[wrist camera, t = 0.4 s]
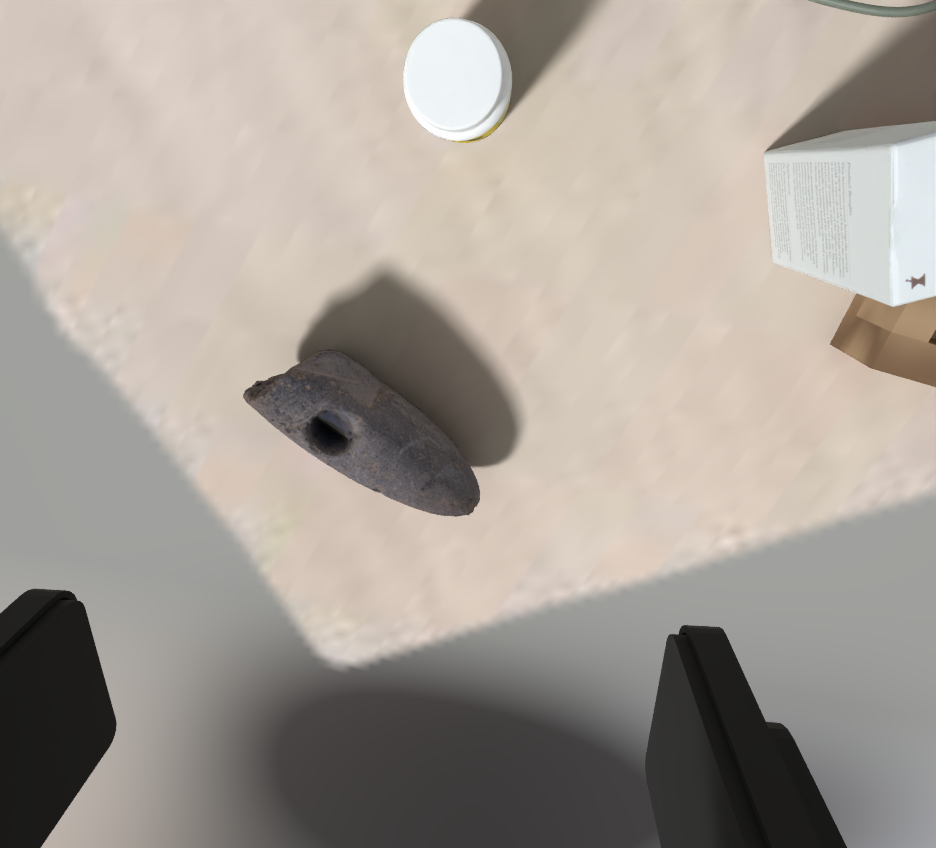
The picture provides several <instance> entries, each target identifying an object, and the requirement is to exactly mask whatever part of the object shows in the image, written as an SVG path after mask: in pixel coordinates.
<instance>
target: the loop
mask: <svg viewBox="0 0 936 848" xmlns="http://www.w3.org/2000/svg"><path fill="white" fill-rule="evenodd" d="M809 1H812V2H815V3H819V4H822V5H826V6H830V7H834V8H838V9H842V10H846V11H851V12H856V13H861V14H866V15H872V16H881V17H908V16H916V15H920V14H925V13H928V12H931V11H934V10H936V0H934V1H931V2H928V3H925V4H921V5H916V6H908V7H885V6H876V5H869V4H864V3H859V2H854V1H849V0H809Z"/></svg>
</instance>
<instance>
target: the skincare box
mask: <svg viewBox="0 0 936 848" xmlns="http://www.w3.org/2000/svg"><path fill="white" fill-rule="evenodd" d="M764 165H765V178H766V190H767V202H768V213H769V225H770V236H771V248H772V260H773V263H776V264H778V265H781V266H784V267H786V268H789V269H792V270H795V271H797V272H800V273H803V274H806V275H808V276H811V277H813V278H816V279H819V280H822V281H824V282H827V283H830V284H833V285H836V286H838V287H841V288H844V289H846V290H849V291H852V292H855V293H857V294H860V295H863V296H865V297H868V298H871V299H874V300H876V301H879V302H882V303H884V304H887V305H889V306H892V307H895V306H899V305H903V304H907V303H911V302H915V301H919V300H922V299H926V298H930V297H934V296H936V121H929V122H921V123H911V124H902V125H892V126H883V127H874V128H865V129H855V130H846V131H842V132H838V133H834V134H830V135H827V136H823V137H819V138H815V139H811V140H807V141H803V142H799V143H795V144H791V145H788V146H784V147H780V148H776V149H773V150H769V151H767V152H765V153H764Z"/></svg>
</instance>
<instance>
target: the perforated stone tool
mask: <svg viewBox="0 0 936 848" xmlns="http://www.w3.org/2000/svg"><path fill="white" fill-rule="evenodd" d="M243 398H244V399H245V400H246V402H247V403H248V404H249V405H250V406H252V408H254V409H255V410H257V411H258V412H259V413H260V414H261V415H262V416H263V417H264V418H265V419H266V420H268V422H269V423H271V424H272V425H273V426H274V427H275V428H277V429H278V430H280V431H281V432H282V433H283V434H285V435H286V436H287V437H288V438H290V439H291V440H292V441H294V442H295V443H296V444H298V445H299V446H300V447H302V448H303V449H305V450H306V451H307V452H309V453H311V454H312V455H314V456H315V457H317V458H318V459H319V460H321V461H322V462H324V463H325V464H327V465H329V466H331V467H332V468H334V469H335V470H337V471H338V472H340V473H342V474H344V475H345V476H347V477H348V478H350V479H352V480H354V481H356V482H357V483H359V484H361V485H363V486H365V487H368V488H370V489H372V490H373V491H375V492H379V493H382V494H383V495H385V496H387V497H389V498H391V499H393V500H396V501H398V502H400V503H403V504H405V505H407V506H410V507H413V508H416V509H419V510H422V511H426V512H429V513H432V514H437V515H443V516H462V515H469V514H470V513H472V512H473V510H474V508H475V507H476V506H477V505H478V503H479V500H480V490H479V485H478V482H477V479H476V477H475V475H474V473H473V471H472V469H471V467H470V465H469V464H468V462H467V461H466V459H465V458H464V456H463V455H462V453H461V452H460V450H459V449H458V447H457V446H456V445H455V444H454V443H453V441H452V440H451V439H450V438H449V437H448V436H447V435H446V434H445V433H444V432H443V431H442V430H441V429H440V428H439V427H438V426H437V425H436V424H435V423H433V422H432V421H431V420H430V419H429V418H428V417H427V416H426V415H424V414H423V413H422V412H421V411H420V410H418V409H417V408H416V407H415V406H414V405H412V404H411V403H410V402H408V401H407V400H406V399H404V398H403V397H402V396H401V395H400V394H398V393H397V392H396V391H394V390H393V389H392V388H391V387H389V386H388V385H386V384H384V383H383V382H381V381H380V380H378V379H377V378H375V377H374V375H373V374H372V373H371V372H370V371H369V370H367V369H366V368H365V367H363V366H362V365H360V364H359V363H357V362H356V361H354V360H353V359H351V358H350V357H348V356H347V355H345V354H343V353H341V352H338V351H333V350H328V351H321V352H319V353H315V354H312V355H310V356H309V357H307V358H306V359H305V360H304V361H302V362H301V363H300V364H298V365H296V366H294V367H292V368H291V369H289V370H288V371H287V372H286V373H284V374H280V375H277V376H273V377H271V378H269V379H268V380H266V381H256V383H255V384H254V385H253V386H252V387H250V388H248V389H246V390H245V393H244V395H243Z"/></svg>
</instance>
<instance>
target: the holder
mask: <svg viewBox="0 0 936 848" xmlns="http://www.w3.org/2000/svg"><path fill="white" fill-rule="evenodd" d="M830 345H832V346H834V347H836V348H837V349H839V350H841V351H842V352H844V353H846V354H847V355H849V356H851V357H853V358H854V359H856V360H858V361H859V362H861V363H863V364H864V365H866V366H868V367H870V368H872V369H875V370H879V371H882V372H886V373H889V374H893V375H896V376H899V377H903V378H906V379H910V380H913V381H917V382H920V383H924V384H927V385H930V386H934V387H936V296H934V297H930V298H926V299H922V300H919V301H915V302H911V303H907V304H903V305H899V306H895V307H892V306H889V305H887V304H884V303H882V302H879V301H876V300H874V299H871V298H868V297H865V296H863V295H860V294H856V296H855V298H854V300H853V302H852V303H851V305H850V307H849V309H848V311H847V313H846V315H845V317H844V319H843V320H842V322H841V324H840V326H839V328H838V330H837V332H836V334H835V336H834V338H833V339H832V341H831V343H830Z"/></svg>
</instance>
